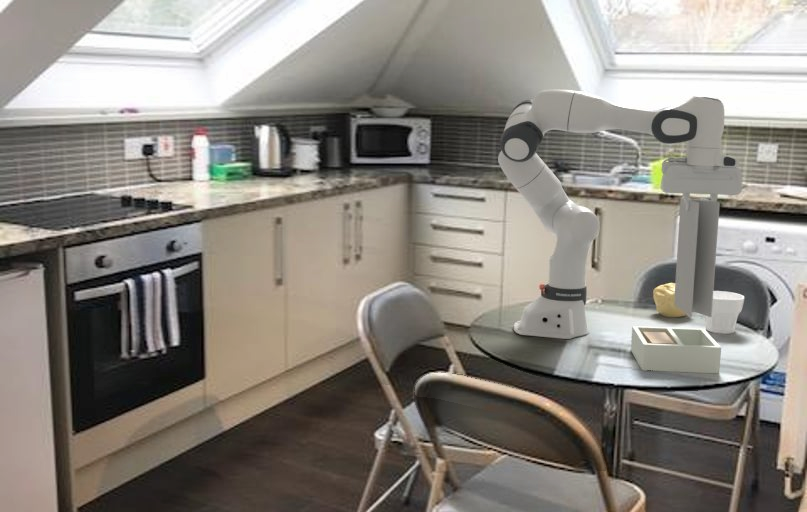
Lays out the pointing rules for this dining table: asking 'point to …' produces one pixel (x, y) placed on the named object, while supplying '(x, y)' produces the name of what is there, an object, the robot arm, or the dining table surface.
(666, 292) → the yellow rounded lump
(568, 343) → the dining table surface
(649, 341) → the offcut top
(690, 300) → the brochure
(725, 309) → the cup
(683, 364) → the divided tray
